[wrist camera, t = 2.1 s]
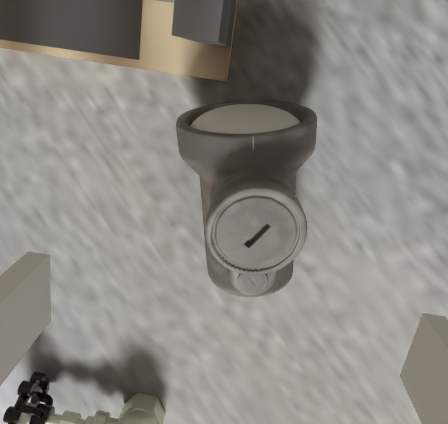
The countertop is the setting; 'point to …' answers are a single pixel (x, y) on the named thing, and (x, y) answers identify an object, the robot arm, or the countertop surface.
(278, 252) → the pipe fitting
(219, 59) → the shaft bed
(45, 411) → the valve
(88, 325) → the countertop surface
